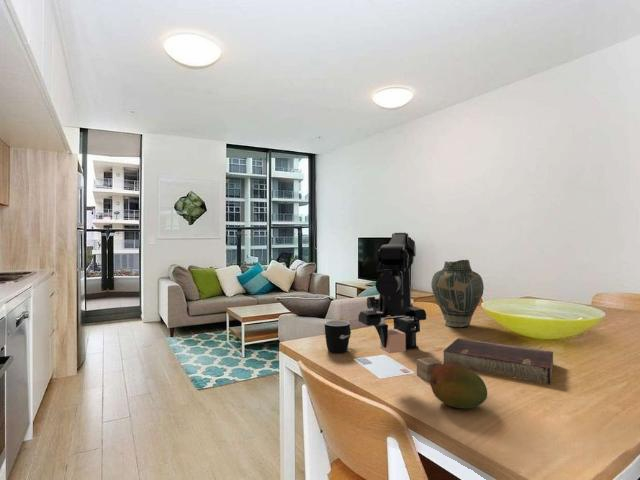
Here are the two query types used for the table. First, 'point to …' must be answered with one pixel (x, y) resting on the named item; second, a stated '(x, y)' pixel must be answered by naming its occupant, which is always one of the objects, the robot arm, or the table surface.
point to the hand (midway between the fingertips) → (392, 346)
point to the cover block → (395, 341)
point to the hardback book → (501, 359)
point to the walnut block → (426, 367)
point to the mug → (337, 335)
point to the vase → (457, 292)
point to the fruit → (457, 386)
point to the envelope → (383, 366)
